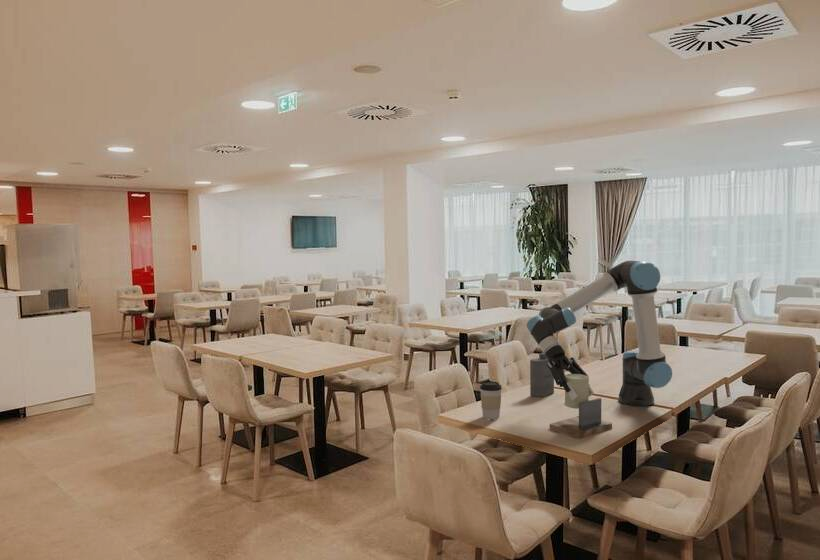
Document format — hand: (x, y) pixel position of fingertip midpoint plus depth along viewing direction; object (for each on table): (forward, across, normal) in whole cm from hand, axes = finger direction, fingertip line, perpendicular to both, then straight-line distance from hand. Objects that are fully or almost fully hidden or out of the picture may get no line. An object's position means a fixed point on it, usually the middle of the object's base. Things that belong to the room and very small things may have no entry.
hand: (583, 396), depth 224 cm
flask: (-23, -26, -42) cm, 54 cm away
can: (+1, 0, -6) cm, 6 cm away
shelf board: (+8, 0, -10) cm, 13 cm away
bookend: (+10, 0, -6) cm, 12 cm away
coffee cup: (-14, +18, -33) cm, 40 cm away
